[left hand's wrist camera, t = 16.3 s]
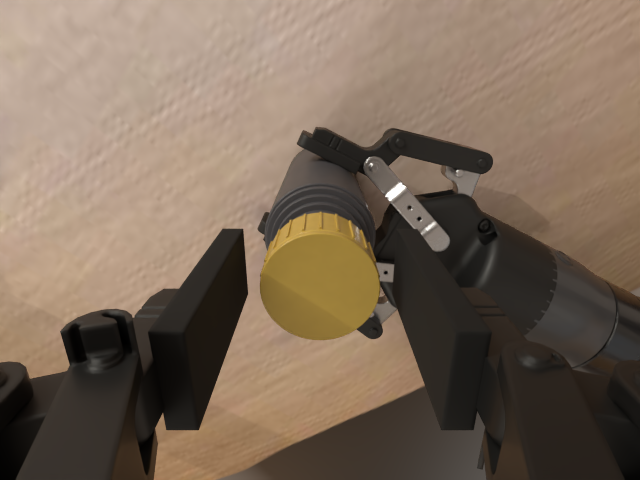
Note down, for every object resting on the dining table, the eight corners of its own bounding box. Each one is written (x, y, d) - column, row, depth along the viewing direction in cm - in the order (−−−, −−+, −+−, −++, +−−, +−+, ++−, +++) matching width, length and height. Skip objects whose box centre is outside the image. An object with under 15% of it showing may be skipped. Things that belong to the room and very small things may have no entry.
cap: (245, 256, 14) (232, 284, 12) (327, 188, 14) (328, 205, 11) (314, 324, 16) (313, 361, 13) (394, 266, 15) (406, 295, 12)
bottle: (343, 137, 28) (375, 194, 12) (359, 200, 30) (405, 325, 14) (279, 155, 28) (225, 234, 12) (298, 216, 30) (273, 356, 14)
